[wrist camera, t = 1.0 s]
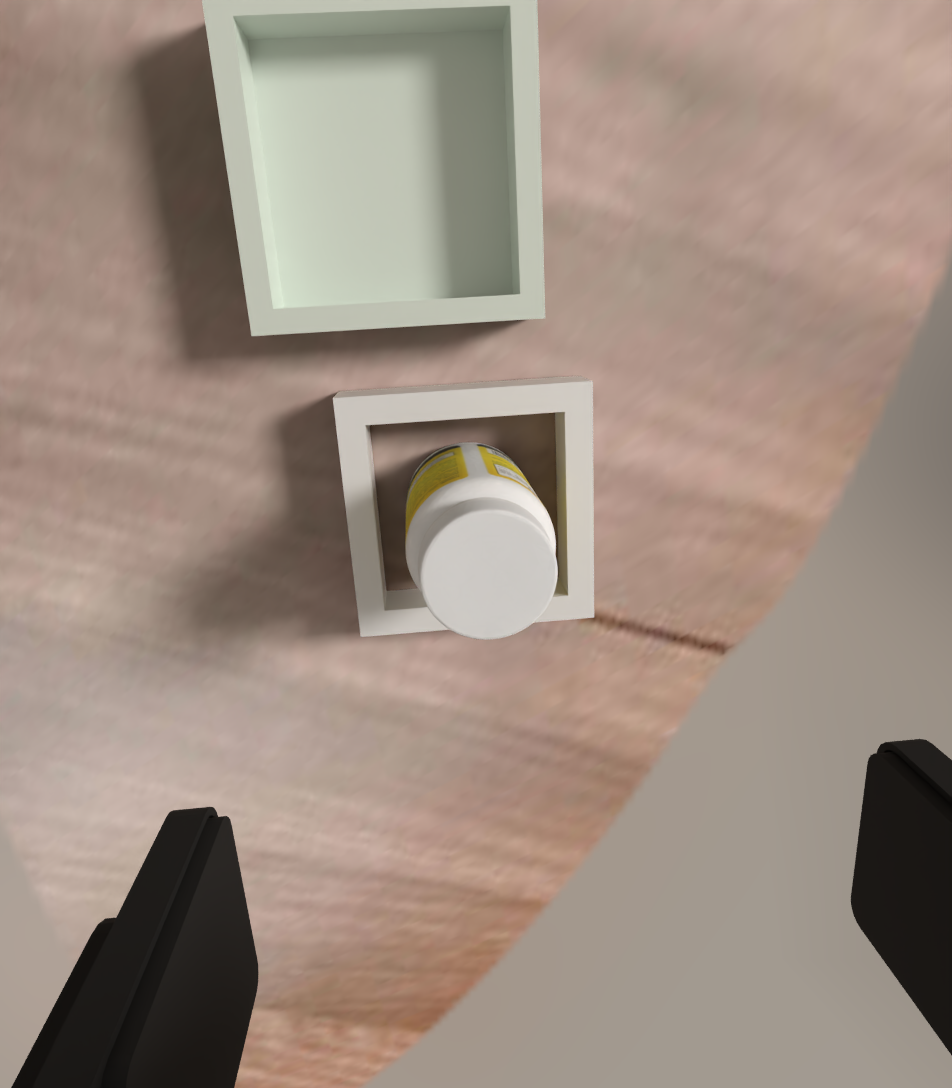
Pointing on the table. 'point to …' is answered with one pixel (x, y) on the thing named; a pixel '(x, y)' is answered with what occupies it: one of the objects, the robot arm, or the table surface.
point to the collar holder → (464, 401)
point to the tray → (382, 160)
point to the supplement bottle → (479, 542)
